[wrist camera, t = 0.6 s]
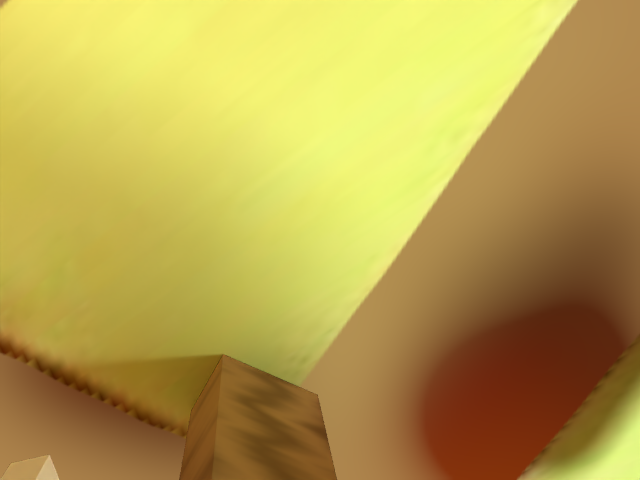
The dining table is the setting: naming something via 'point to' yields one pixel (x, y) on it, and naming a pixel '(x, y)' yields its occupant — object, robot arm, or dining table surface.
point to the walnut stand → (255, 429)
